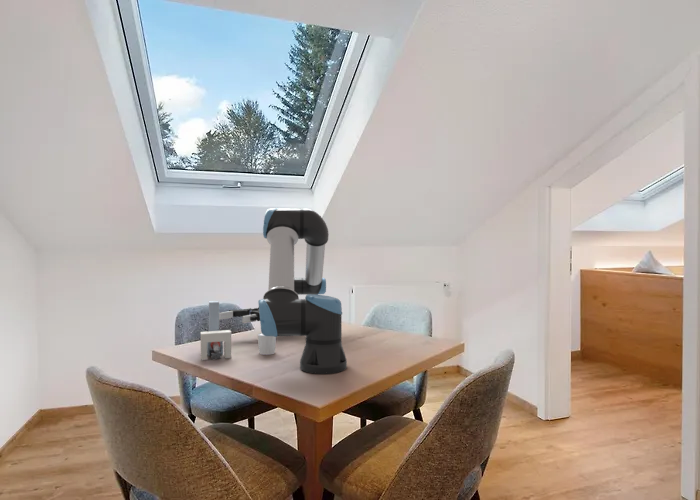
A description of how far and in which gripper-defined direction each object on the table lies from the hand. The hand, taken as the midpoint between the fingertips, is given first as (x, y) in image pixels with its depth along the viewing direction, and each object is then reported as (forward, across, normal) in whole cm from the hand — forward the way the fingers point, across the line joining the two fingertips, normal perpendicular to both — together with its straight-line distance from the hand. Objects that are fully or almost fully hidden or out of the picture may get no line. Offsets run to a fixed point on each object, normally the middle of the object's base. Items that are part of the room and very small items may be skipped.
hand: (230, 318), depth 170 cm
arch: (+15, -10, -11) cm, 21 cm away
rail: (+9, -2, -11) cm, 14 cm away
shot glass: (0, -20, -11) cm, 22 cm away
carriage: (+10, -3, -11) cm, 15 cm away
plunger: (+16, -11, -8) cm, 21 cm away
